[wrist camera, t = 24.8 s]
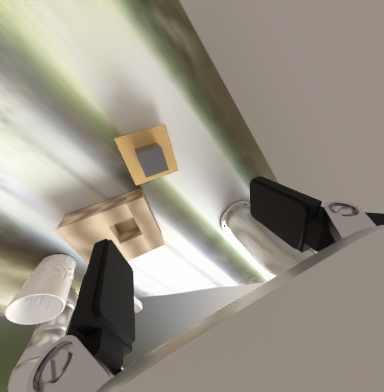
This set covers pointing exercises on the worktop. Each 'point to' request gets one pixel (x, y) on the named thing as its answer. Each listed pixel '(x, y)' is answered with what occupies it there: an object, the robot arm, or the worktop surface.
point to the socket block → (114, 226)
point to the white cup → (43, 291)
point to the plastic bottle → (41, 344)
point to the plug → (147, 154)
